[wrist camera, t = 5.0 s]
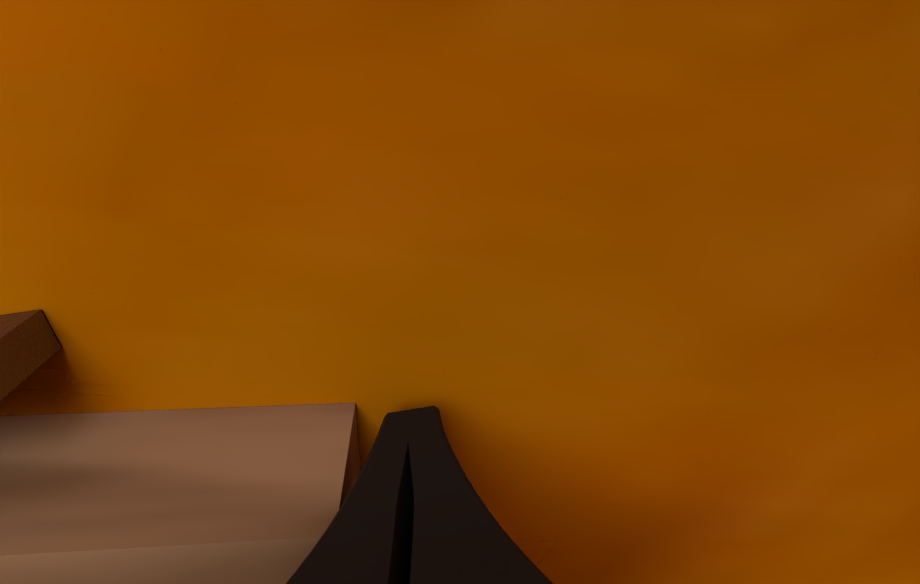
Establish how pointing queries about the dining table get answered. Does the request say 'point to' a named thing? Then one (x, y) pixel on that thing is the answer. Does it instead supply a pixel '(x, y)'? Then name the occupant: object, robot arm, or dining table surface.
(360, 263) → the dining table surface
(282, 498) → the rail
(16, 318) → the bracket
